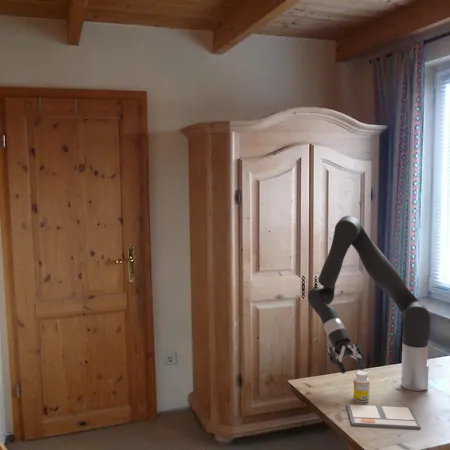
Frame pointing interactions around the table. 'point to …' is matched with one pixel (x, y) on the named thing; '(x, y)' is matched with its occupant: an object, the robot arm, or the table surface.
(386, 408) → the board
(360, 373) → the supplement bottle
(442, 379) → the table surface
